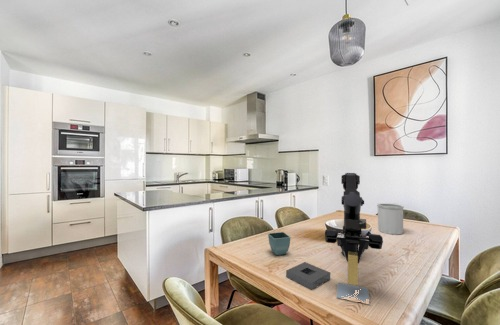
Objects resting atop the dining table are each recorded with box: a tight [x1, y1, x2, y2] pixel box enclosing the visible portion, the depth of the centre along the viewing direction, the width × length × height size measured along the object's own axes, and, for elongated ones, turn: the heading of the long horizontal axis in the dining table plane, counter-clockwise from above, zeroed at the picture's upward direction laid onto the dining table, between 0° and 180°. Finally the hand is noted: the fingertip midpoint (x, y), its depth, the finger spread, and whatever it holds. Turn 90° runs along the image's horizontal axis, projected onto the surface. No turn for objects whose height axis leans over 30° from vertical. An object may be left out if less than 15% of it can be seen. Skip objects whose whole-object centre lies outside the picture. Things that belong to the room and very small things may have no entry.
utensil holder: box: [376, 202, 405, 235], centre depth 149 cm, size 15×15×18 cm
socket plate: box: [285, 261, 331, 291], centre depth 89 cm, size 12×12×2 cm
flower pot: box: [267, 231, 292, 256], centre depth 114 cm, size 9×9×9 cm
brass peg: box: [347, 251, 359, 286], centre depth 79 cm, size 3×3×10 cm
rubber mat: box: [336, 282, 371, 302], centre depth 79 cm, size 10×10×1 cm
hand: (352, 262), depth 77 cm, fingers closed on brass peg, 3 cm apart
